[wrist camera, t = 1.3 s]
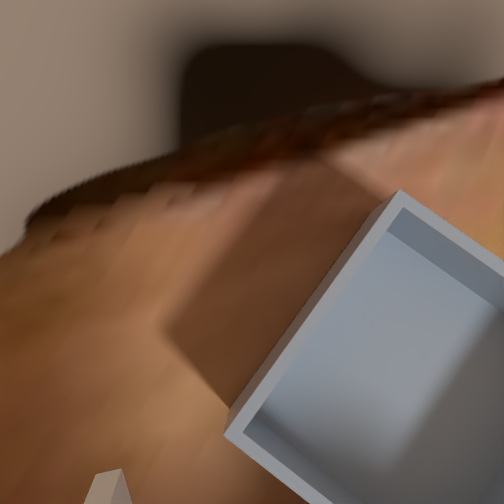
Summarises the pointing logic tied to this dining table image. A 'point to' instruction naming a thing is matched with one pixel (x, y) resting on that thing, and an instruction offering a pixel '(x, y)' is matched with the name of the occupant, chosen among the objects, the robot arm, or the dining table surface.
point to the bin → (388, 372)
